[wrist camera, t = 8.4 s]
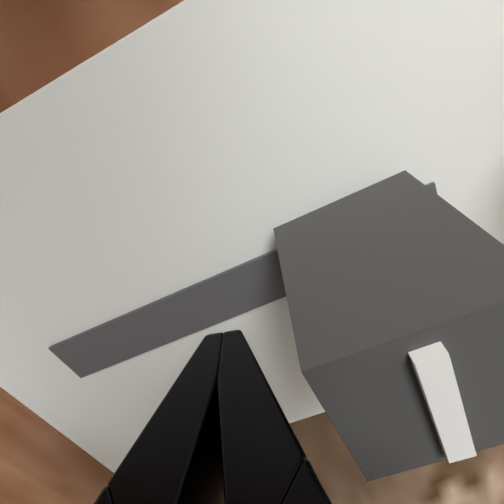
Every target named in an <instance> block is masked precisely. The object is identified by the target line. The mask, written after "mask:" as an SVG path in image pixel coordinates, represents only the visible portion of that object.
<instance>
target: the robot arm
mask: <svg viewBox="0 0 504 504" xmlns="http://www.w3.org/2000/svg"><path fill="white" fill-rule="evenodd" d="M108 486H109V487H108ZM108 486H107V487H105V488H104V489H103V491H102V492H101V494H100V495H99V497H98V498H97V500H96V501H95V503H94V504H332V503H331V501H330V500H329V498H328V496H327V494H326V492H325V491H324V489H323V487H322V485H321V483H320V482H319V480H318V478H317V476H316V474H315V472H314V470H313V468H312V466H311V464H310V462H309V461H308V460H307V458H306V455H305V453H304V451H303V449H302V447H301V445H300V443H299V441H298V439H297V437H296V435H295V433H294V432H293V430H292V428H291V426H290V424H289V422H288V420H287V418H286V416H285V414H284V412H283V410H282V408H281V406H280V404H279V402H278V401H277V399H276V397H275V395H274V393H273V391H272V389H271V387H270V385H269V383H268V381H267V379H266V377H265V375H264V373H263V371H262V370H261V368H260V366H259V364H258V362H257V360H256V358H255V356H254V354H253V352H252V350H251V348H250V346H249V344H248V342H247V340H246V338H245V337H244V335H243V333H242V331H241V330H233V331H227V332H224V333H222V332H220V333H214V334H208V335H206V336H205V337H204V338H203V340H202V341H201V343H200V344H199V346H198V347H197V349H196V350H195V352H194V353H193V355H192V356H191V358H190V359H189V361H188V362H187V364H186V365H185V367H184V369H183V370H182V372H181V373H180V375H179V376H178V378H177V379H176V381H175V382H174V384H173V385H172V387H171V388H170V390H169V391H168V393H167V394H166V396H165V397H164V399H163V400H162V402H161V403H160V405H159V406H158V408H157V409H156V411H155V412H154V414H153V415H152V417H151V418H150V420H149V421H148V423H147V424H146V426H145V427H144V429H143V430H142V432H141V434H140V435H139V437H138V438H137V440H136V441H135V443H134V444H133V446H132V447H131V449H130V450H129V452H128V453H127V455H126V456H125V458H124V459H123V461H122V462H121V464H120V465H119V467H118V468H117V470H116V471H115V473H114V474H113V476H112V477H111V479H110V480H109V482H108Z"/></svg>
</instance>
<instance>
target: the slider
mask: <svg viewBox="0 0 504 504" xmlns="http://www.w3.org/2000/svg"><path fill="white" fill-rule="evenodd" d="M273 230H274V235H275V240H276V246H277V251H278V256H279V261H280V266H281V271H282V276H283V282H284V287H285V292H286V297H287V302H288V307H289V313H290V318H291V323H292V328H293V333H294V338H295V343H296V349H297V354H298V359H299V364H300V369H301V373H302V374H303V376H304V378H305V379H306V381H307V383H308V384H309V386H310V387H311V389H312V391H313V392H314V394H315V396H316V397H317V399H318V401H319V402H320V404H321V406H322V407H323V409H324V410H325V412H326V414H327V415H328V417H329V419H330V420H331V422H332V424H333V425H334V427H335V429H336V430H337V432H338V433H339V435H340V437H341V438H342V440H343V442H344V443H345V445H346V447H347V448H348V450H349V452H350V453H351V455H352V456H353V458H354V460H355V461H356V463H357V465H358V466H359V468H360V470H361V471H362V473H363V475H364V476H365V478H366V479H367V481H370V480H374V479H377V478H381V477H385V476H388V475H392V474H396V473H399V472H403V471H407V470H410V469H414V468H417V467H421V466H425V465H428V464H432V463H436V462H439V461H443V460H447V459H448V461H449V463H453V462H456V461H460V460H464V459H467V458H471V457H475V456H477V455H476V451H479V450H483V449H487V448H490V447H494V446H497V445H501V444H504V245H503V244H502V243H501V242H499V241H498V240H497V239H496V238H494V237H493V236H492V235H490V234H489V233H488V232H486V231H485V230H484V229H482V228H481V227H480V226H478V225H477V224H476V223H474V222H473V221H472V220H470V219H469V218H468V217H466V216H465V215H464V214H462V213H461V212H460V211H459V210H457V209H456V208H455V207H453V206H452V205H451V204H449V203H448V202H447V201H445V200H444V199H443V198H441V197H440V196H439V195H437V194H436V193H435V192H433V191H432V190H431V189H429V188H428V187H427V186H426V185H424V184H423V183H422V182H420V181H419V180H418V179H416V178H415V177H414V176H412V175H411V174H410V173H408V172H407V171H406V170H404V171H402V172H400V173H398V174H395V175H393V176H391V177H389V178H386V179H384V180H382V181H380V182H377V183H375V184H373V185H370V186H368V187H366V188H364V189H361V190H359V191H357V192H355V193H352V194H350V195H348V196H346V197H343V198H341V199H339V200H337V201H334V202H332V203H330V204H328V205H325V206H323V207H321V208H319V209H316V210H314V211H312V212H309V213H307V214H305V215H303V216H300V217H298V218H296V219H294V220H291V221H289V222H287V223H285V224H282V225H280V226H278V227H276V228H273Z"/></svg>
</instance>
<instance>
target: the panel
mask: <svg viewBox="0 0 504 504" xmlns="http://www.w3.org/2000/svg"><path fill="white" fill-rule="evenodd" d="M404 170H406V171H407V172H408V173H410V174H411V175H412V176H414V177H415V178H416V179H418V180H419V181H420V182H422V183H423V184H424V185H426V186H427V187H428V188H429V189H431V190H432V191H433V192H435V193H436V194H437V195H439V196H440V197H441V198H443V199H444V200H445V201H447V202H448V203H449V204H451V205H452V206H453V207H455V208H456V209H457V210H459V211H460V212H461V213H462V214H464V215H465V216H466V217H468V218H469V219H470V220H472V221H473V222H474V223H476V224H477V225H478V226H480V227H481V228H482V229H484V230H485V231H486V232H488V233H489V234H490V235H492V236H493V237H494V238H496V239H497V240H498V241H499V242H501V243H502V244H503V245H504V0H184V1H182V2H181V3H179V4H177V5H176V6H174V7H173V8H171V9H169V10H168V11H166V12H164V13H163V14H161V15H160V16H158V17H156V18H155V19H153V20H151V21H150V22H148V23H146V24H145V25H143V26H142V27H140V28H138V29H137V30H135V31H133V32H132V33H130V34H129V35H127V36H125V37H124V38H122V39H120V40H119V41H117V42H115V43H114V44H112V45H111V46H109V47H107V48H106V49H104V50H102V51H101V52H99V53H98V54H96V55H94V56H93V57H91V58H89V59H88V60H86V61H84V62H83V63H81V64H80V65H78V66H76V67H75V68H73V69H71V70H70V71H68V72H67V73H65V74H63V75H62V76H60V77H58V78H57V79H55V80H54V81H52V82H50V83H49V84H47V85H45V86H44V87H42V88H40V89H39V90H37V91H36V92H34V93H32V94H31V95H29V96H27V97H26V98H24V99H23V100H21V101H19V102H18V103H16V104H14V105H13V106H11V107H9V108H8V109H6V110H5V111H3V112H1V113H0V387H1V388H3V389H4V390H5V391H7V392H8V393H9V394H11V395H12V396H13V397H15V398H16V399H17V400H19V401H20V402H21V403H22V404H24V405H25V406H26V407H28V408H29V409H30V410H32V411H33V412H34V413H36V414H37V415H38V416H40V417H41V418H42V419H43V420H45V421H46V422H47V423H49V424H50V425H51V426H53V427H54V428H55V429H57V430H58V431H59V432H61V433H62V434H63V435H65V436H66V437H67V438H68V439H70V440H71V441H72V442H74V443H75V444H76V445H78V446H79V447H80V448H82V449H83V450H84V451H86V452H87V453H88V454H90V455H91V456H92V457H93V458H95V459H96V460H97V461H99V462H100V463H101V464H103V465H104V466H105V467H107V468H108V469H109V470H111V471H112V472H113V473H115V471H116V470H117V468H118V467H119V465H120V464H121V462H122V461H123V459H124V458H125V456H126V455H127V453H128V452H129V450H130V449H131V447H132V446H133V444H134V443H135V441H136V440H137V438H138V437H139V435H140V434H141V432H142V430H143V429H144V427H145V426H146V424H147V423H148V421H149V420H150V418H151V417H152V415H153V414H154V412H155V411H156V409H157V408H158V406H159V405H160V403H161V402H162V400H163V399H164V397H165V396H166V394H167V393H168V391H169V390H170V388H171V387H172V385H173V384H174V382H175V381H176V379H177V378H178V376H179V375H180V373H181V372H182V370H183V369H184V367H185V365H186V364H187V362H188V361H189V359H190V358H191V356H192V355H193V353H194V352H195V350H196V349H197V347H198V346H199V344H200V343H201V341H202V340H203V338H204V337H205V336H206V335H208V334H214V333H220V332H222V333H224V332H227V331H233V330H241V331H242V333H243V335H244V337H245V338H246V340H247V342H248V344H249V346H250V348H251V350H252V352H253V354H254V356H255V358H256V360H257V362H258V364H259V366H260V368H261V370H262V371H263V373H264V375H265V377H266V379H267V381H268V383H269V385H270V387H271V389H272V391H273V393H274V395H275V397H276V399H277V401H278V402H279V404H280V406H281V408H282V410H283V412H284V414H285V416H286V418H287V420H288V422H289V423H292V422H295V421H298V420H302V419H305V418H308V417H311V416H314V415H317V414H320V413H323V412H325V410H324V409H323V407H322V406H321V404H320V402H319V401H318V399H317V397H316V396H315V394H314V392H313V391H312V389H311V387H310V386H309V384H308V383H307V381H306V379H305V378H304V376H303V374H302V373H301V369H300V364H299V359H298V354H297V349H296V343H295V338H294V333H293V328H292V323H291V318H290V313H289V307H288V302H287V297H286V292H285V287H284V282H283V276H282V271H281V266H280V261H279V256H278V251H277V246H276V240H275V235H274V230H273V228H276V227H278V226H280V225H282V224H285V223H287V222H289V221H291V220H294V219H296V218H298V217H300V216H303V215H305V214H307V213H309V212H312V211H314V210H316V209H319V208H321V207H323V206H325V205H328V204H330V203H332V202H334V201H337V200H339V199H341V198H343V197H346V196H348V195H350V194H352V193H355V192H357V191H359V190H361V189H364V188H366V187H368V186H370V185H373V184H375V183H377V182H380V181H382V180H384V179H386V178H389V177H391V176H393V175H395V174H398V173H400V172H402V171H404Z"/></svg>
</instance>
